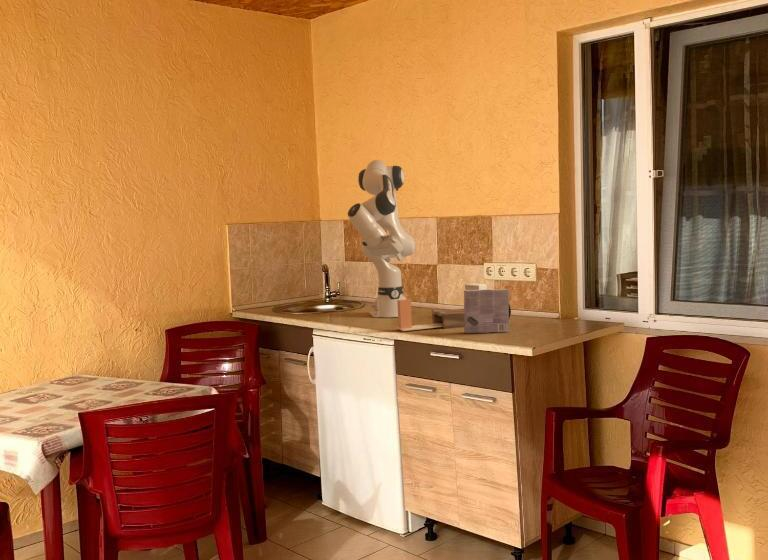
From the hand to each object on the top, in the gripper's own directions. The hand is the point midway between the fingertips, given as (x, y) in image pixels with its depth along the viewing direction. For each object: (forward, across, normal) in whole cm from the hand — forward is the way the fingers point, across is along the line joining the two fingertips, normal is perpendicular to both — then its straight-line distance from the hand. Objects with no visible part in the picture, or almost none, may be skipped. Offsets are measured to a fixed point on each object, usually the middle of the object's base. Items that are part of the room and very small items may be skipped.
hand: (395, 260), depth 353 cm
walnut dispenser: (+38, -10, +2) cm, 39 cm away
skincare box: (+50, 0, -14) cm, 52 cm away
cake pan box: (+37, -35, +7) cm, 52 cm away
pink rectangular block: (+27, -7, +14) cm, 31 cm away
